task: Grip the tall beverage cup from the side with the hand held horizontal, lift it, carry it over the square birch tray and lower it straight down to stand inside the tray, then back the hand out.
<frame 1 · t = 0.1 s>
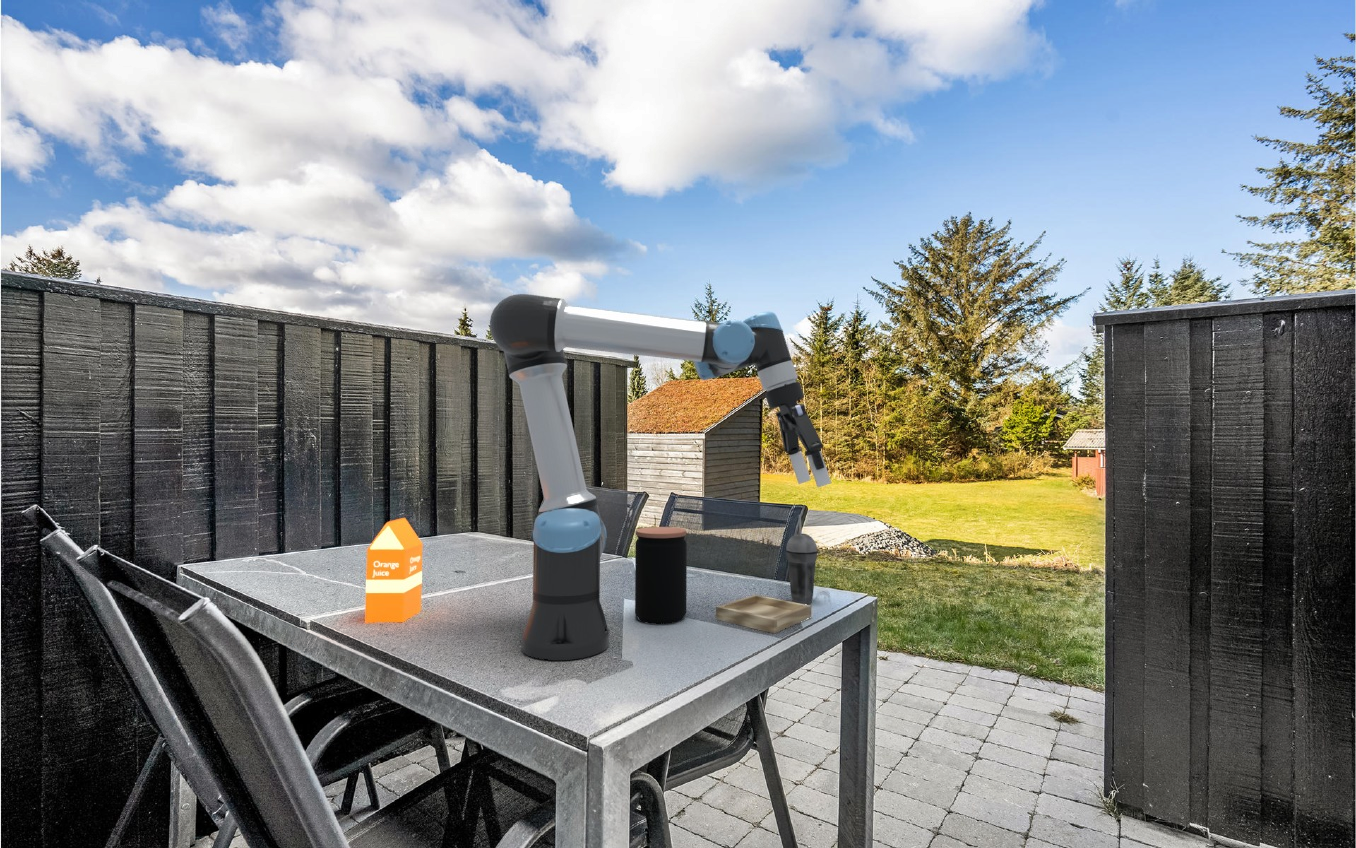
hand: (814, 483, 120), 28 cm above the table, tool tilted 20°, fingers open, 13 cm apart
coffee jar: (660, 618, 120), on the table
beverage cup: (802, 603, 133), on the table
orange juice: (393, 618, 121), on the table
tray: (763, 618, 120), on the table
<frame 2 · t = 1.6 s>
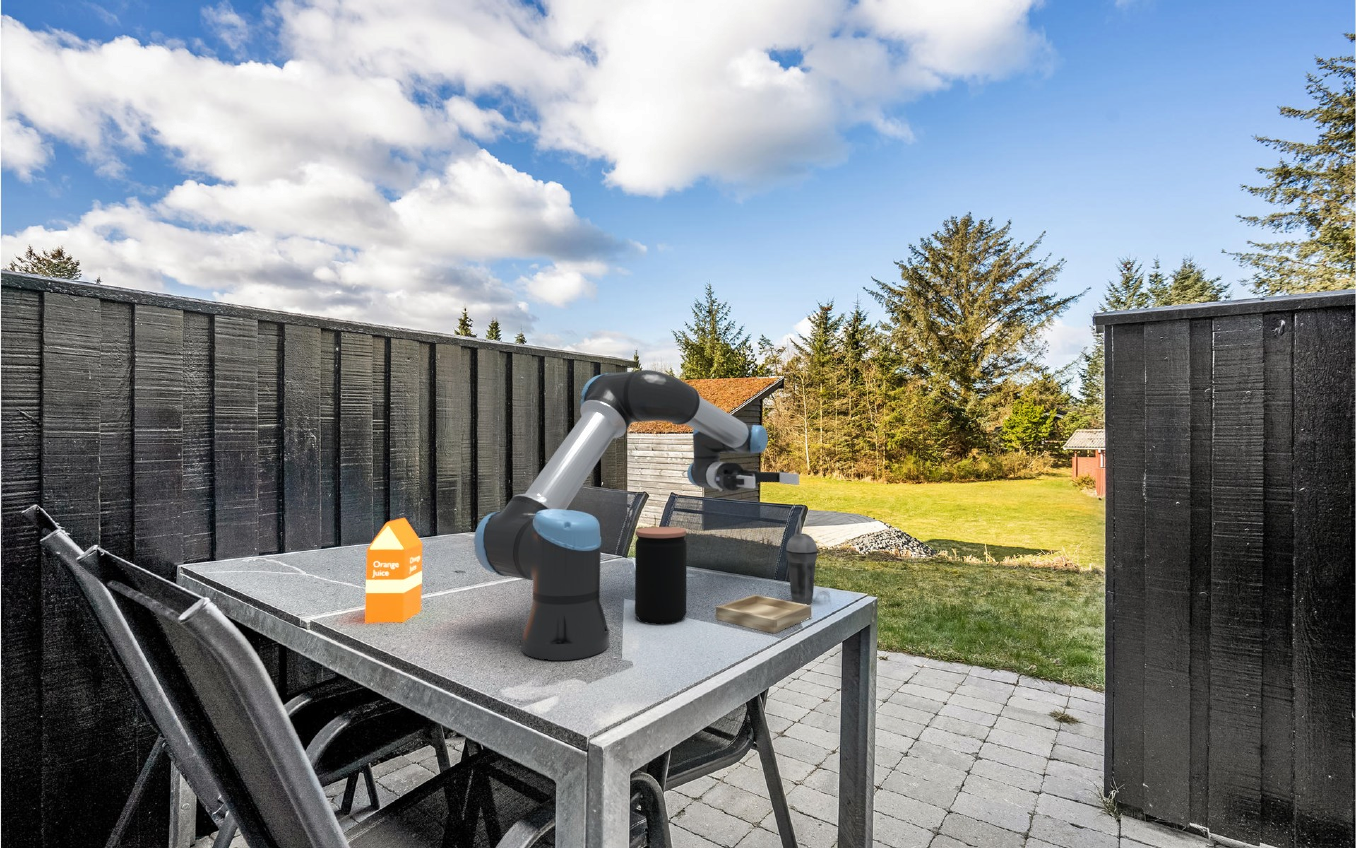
hand: (776, 481, 141), 27 cm above the table, tool horizontal, fingers open, 13 cm apart
nothing on the table moved.
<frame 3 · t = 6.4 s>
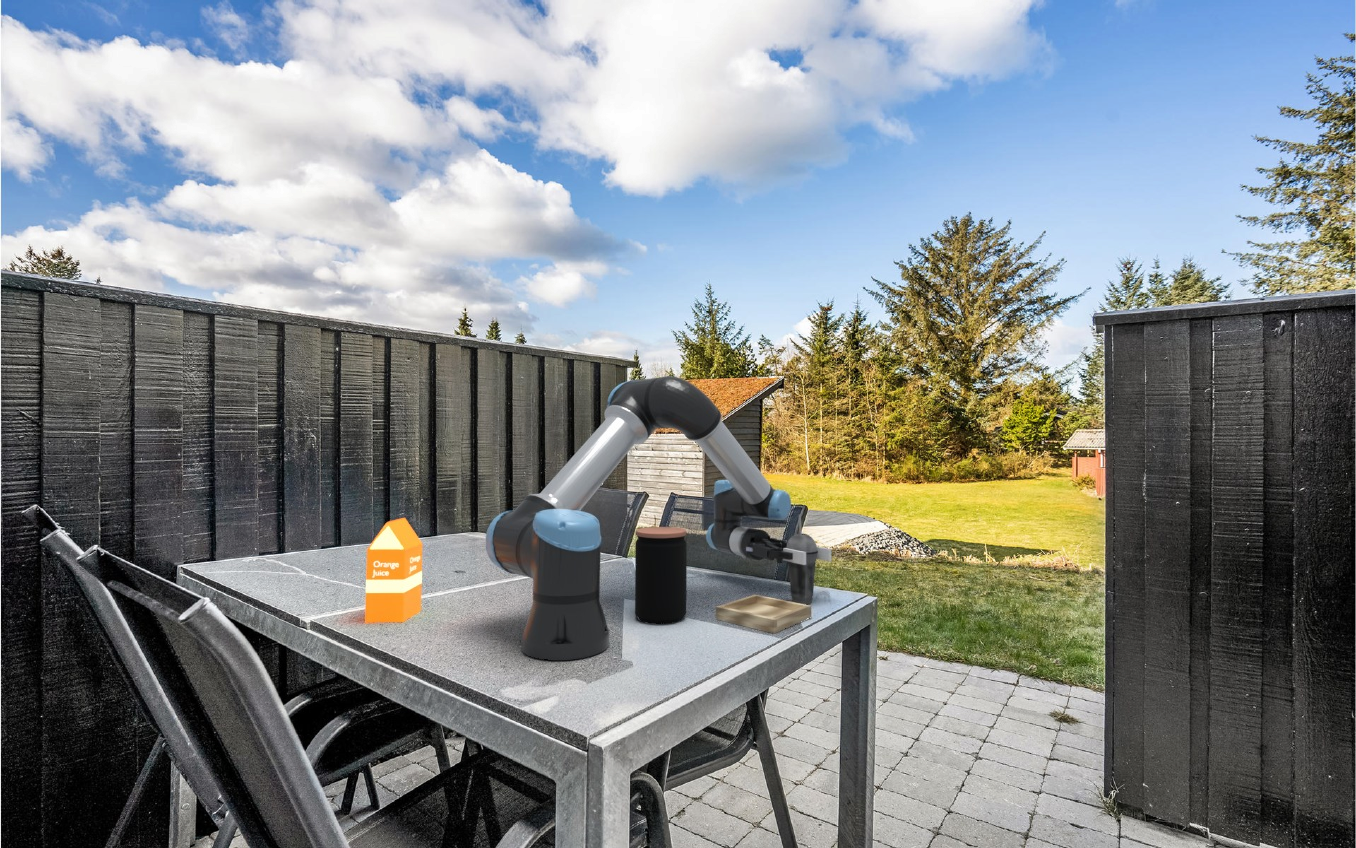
hand: (817, 556, 130), 11 cm above the table, tool horizontal, fingers closed on beverage cup, 7 cm apart
beverage cup: (802, 603, 133), on the table, touching gripper
everything else where it was.
when the fingers open (13 cm above the table, at t = 11.7 s): beverage cup stays where it is, resting on tray.
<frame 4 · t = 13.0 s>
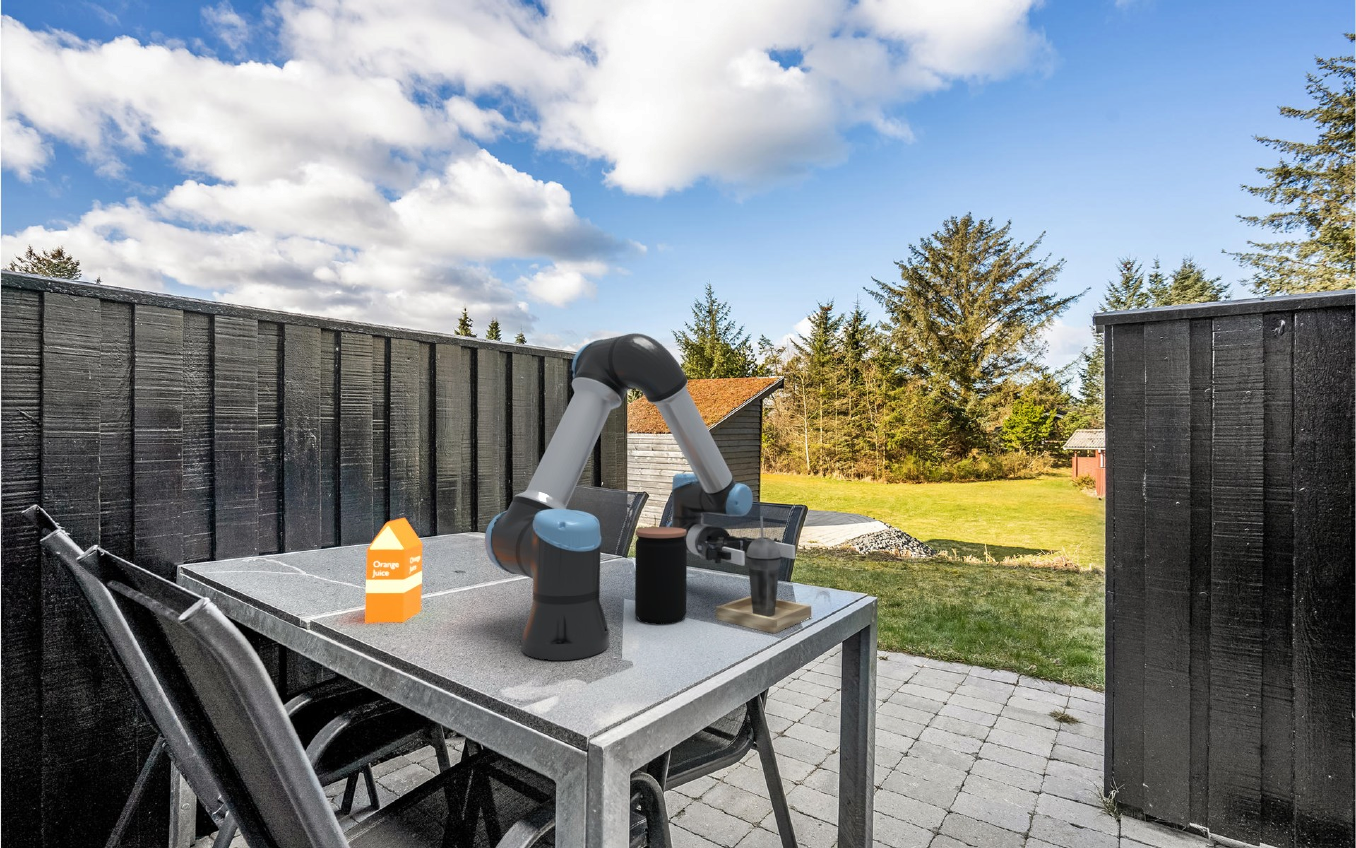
hand: (769, 555, 119), 13 cm above the table, tool horizontal, fingers open, 13 cm apart
beverage cup: (763, 614, 120), point 1 cm above the table, touching tray
everything else where it was.
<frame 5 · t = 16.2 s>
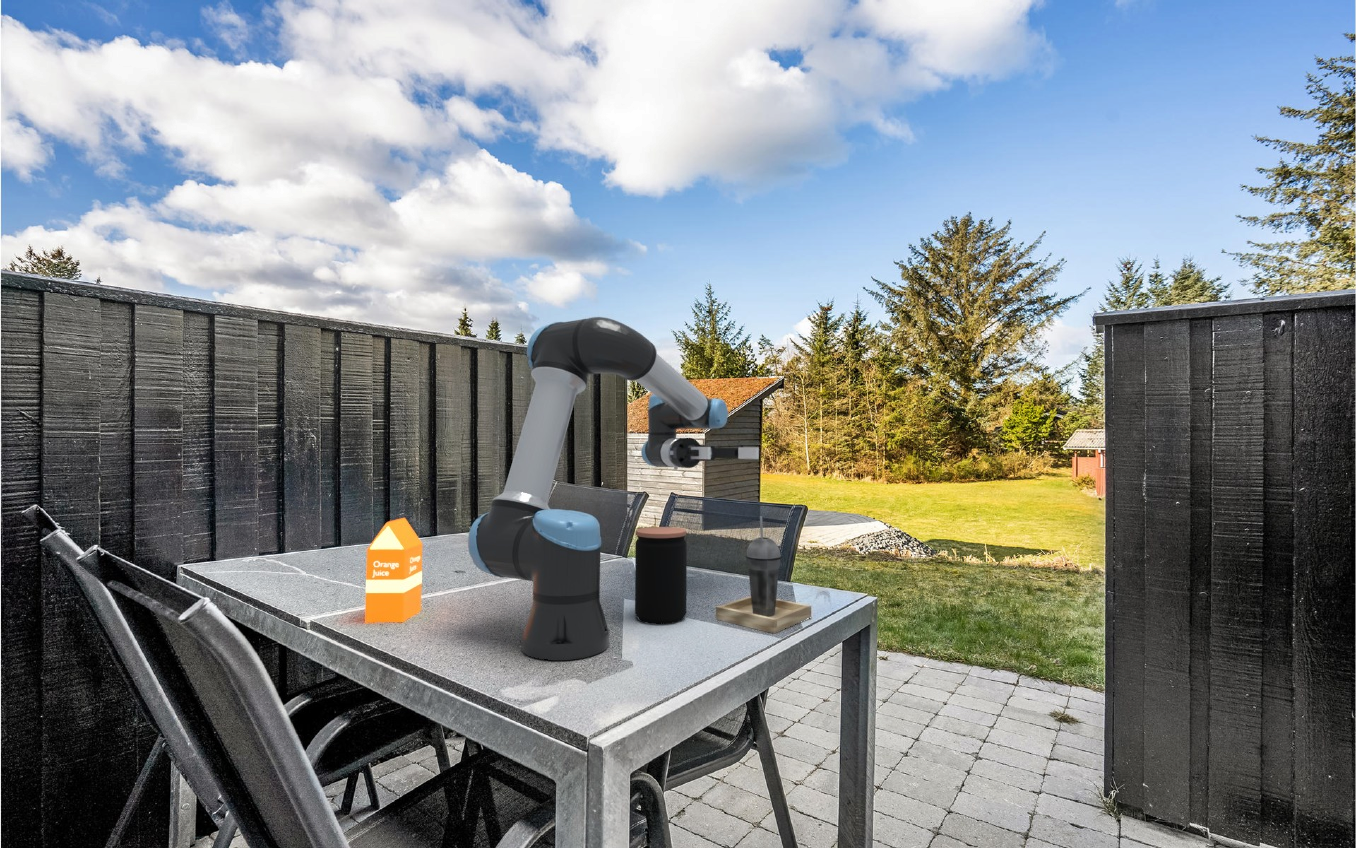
hand: (734, 453, 130), 34 cm above the table, tool horizontal, fingers open, 13 cm apart
nothing on the table moved.
at the end: beverage cup inside the target area on the tray (0.1 cm from its centre), point 0.8 cm above the tray's base; beverage cup tilted 0°; the gripper is holding nothing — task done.
